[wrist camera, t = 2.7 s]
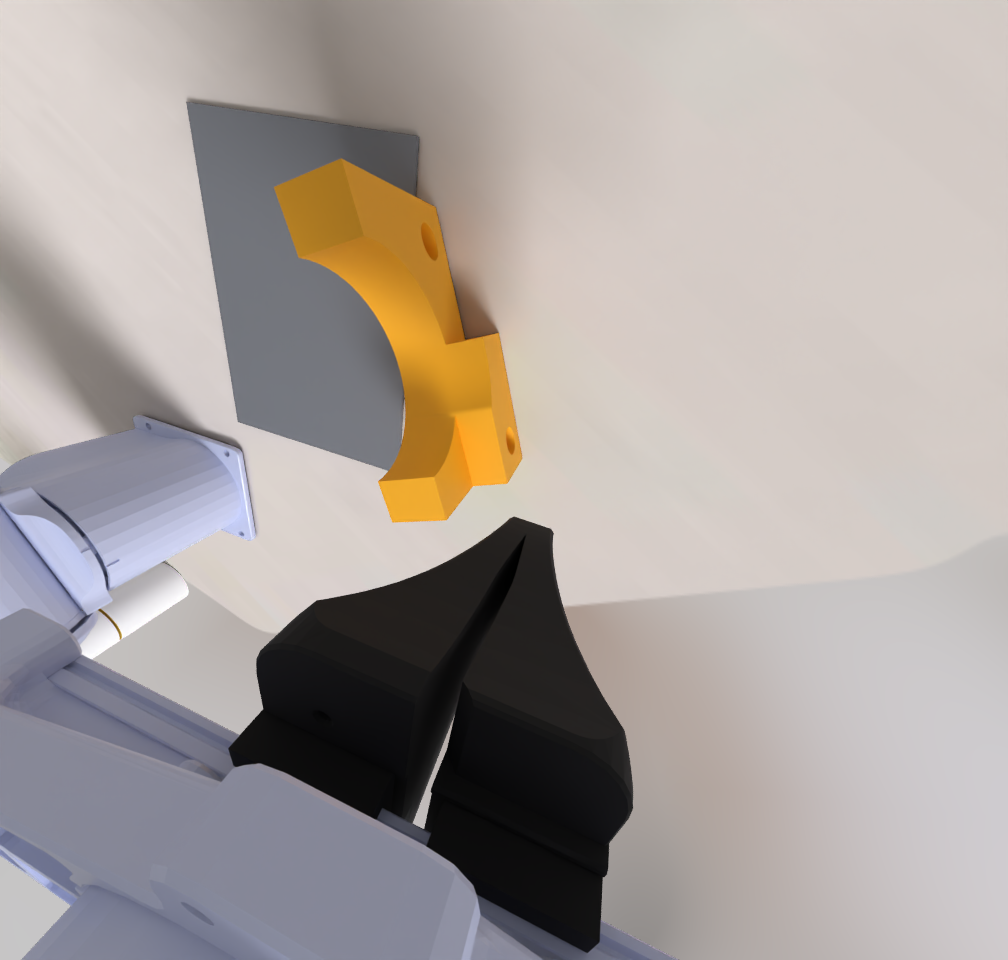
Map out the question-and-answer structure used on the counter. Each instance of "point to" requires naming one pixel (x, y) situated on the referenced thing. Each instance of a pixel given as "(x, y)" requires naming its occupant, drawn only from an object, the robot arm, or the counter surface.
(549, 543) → the robot arm
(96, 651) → the tube
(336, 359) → the mat
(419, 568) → the counter surface
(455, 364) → the pipe clamp
